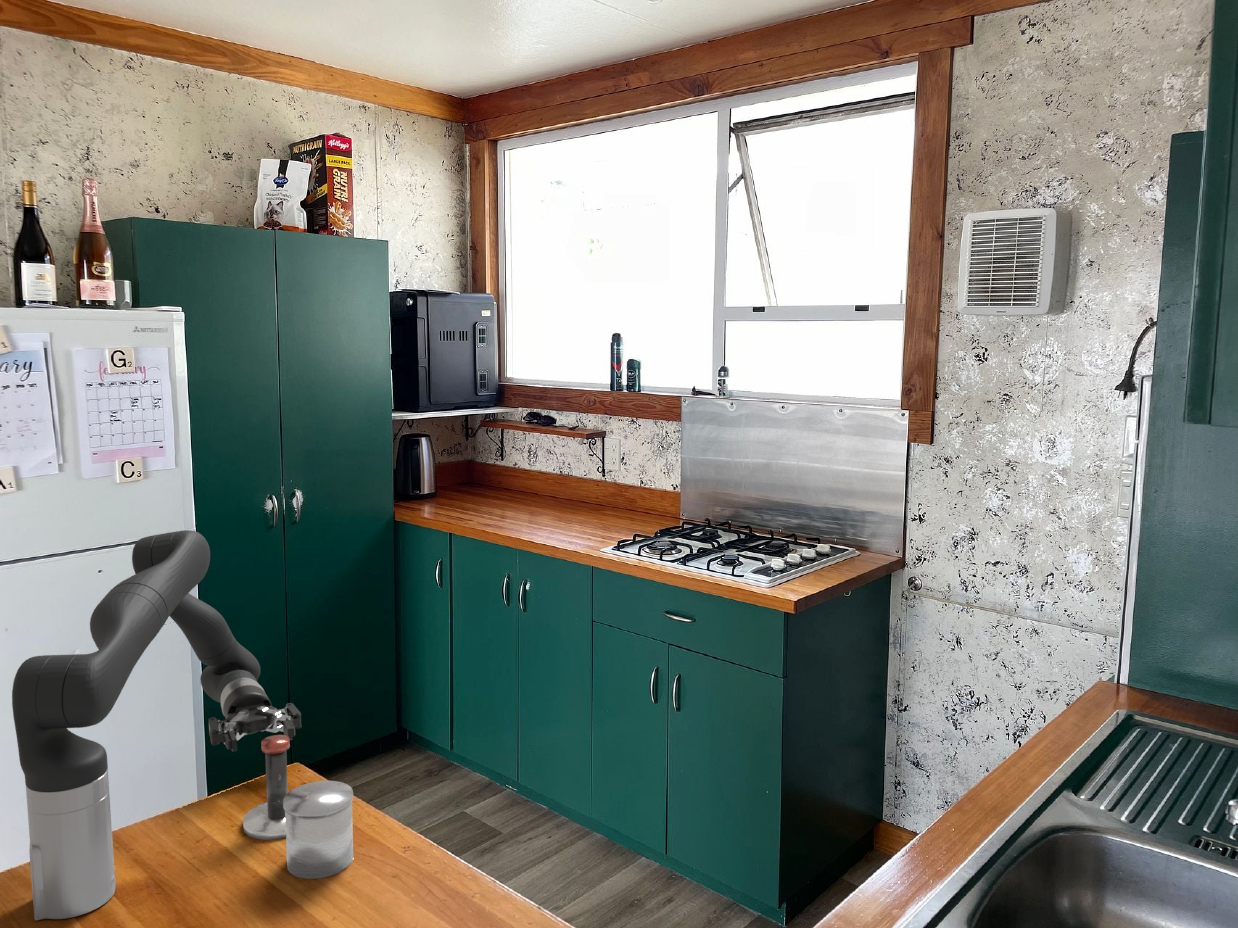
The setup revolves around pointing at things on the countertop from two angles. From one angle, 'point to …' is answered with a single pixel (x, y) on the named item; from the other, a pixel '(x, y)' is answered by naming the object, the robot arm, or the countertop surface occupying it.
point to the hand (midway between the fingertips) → (262, 740)
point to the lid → (271, 793)
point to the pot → (319, 829)
